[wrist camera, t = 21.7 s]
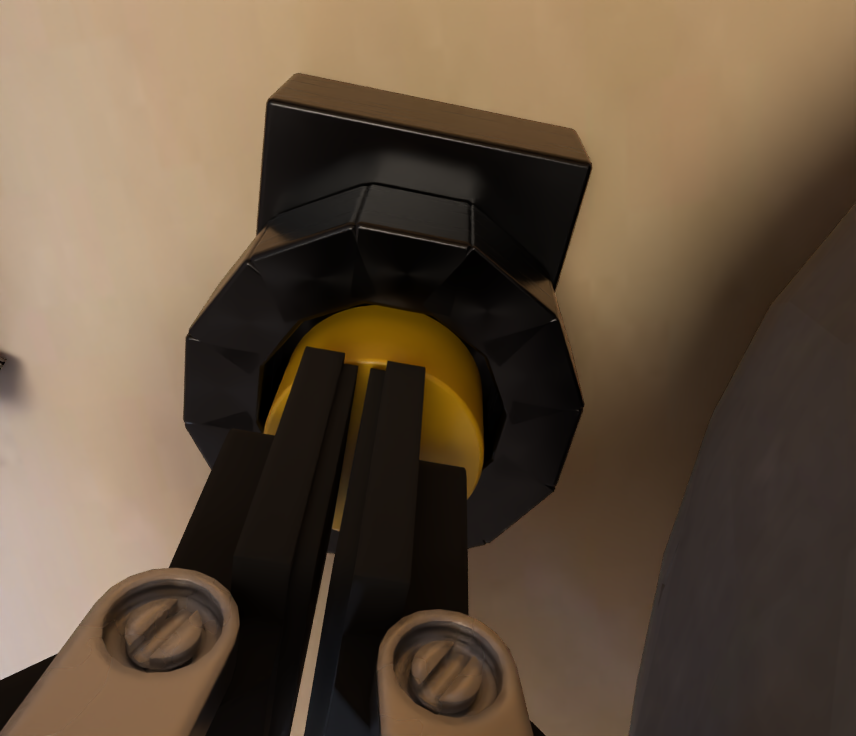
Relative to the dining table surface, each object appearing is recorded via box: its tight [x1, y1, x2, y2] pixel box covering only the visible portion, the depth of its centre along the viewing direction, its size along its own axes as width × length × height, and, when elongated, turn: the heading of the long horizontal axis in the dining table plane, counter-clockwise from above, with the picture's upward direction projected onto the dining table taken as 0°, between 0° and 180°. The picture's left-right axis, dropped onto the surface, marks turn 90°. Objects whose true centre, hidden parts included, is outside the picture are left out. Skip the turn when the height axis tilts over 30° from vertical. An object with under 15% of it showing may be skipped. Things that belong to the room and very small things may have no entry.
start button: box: [263, 305, 484, 531], centre depth 12 cm, size 3×3×2 cm
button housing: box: [183, 73, 592, 554], centre depth 14 cm, size 6×8×4 cm
